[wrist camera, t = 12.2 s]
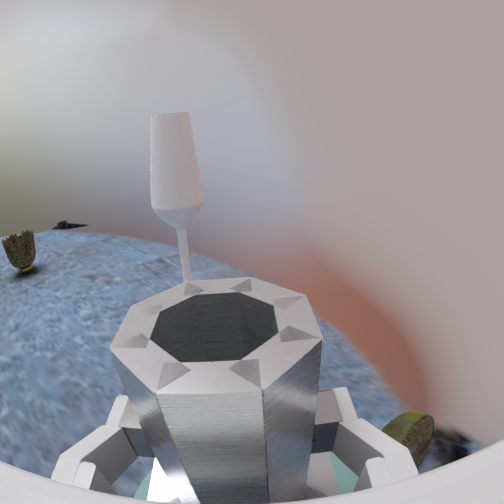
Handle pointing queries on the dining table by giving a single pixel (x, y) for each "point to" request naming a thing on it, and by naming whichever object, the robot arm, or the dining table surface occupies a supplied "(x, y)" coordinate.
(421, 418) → the lime
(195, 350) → the sleeve
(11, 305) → the dining table surface
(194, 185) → the champagne flute
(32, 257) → the cup
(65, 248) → the dining table surface
